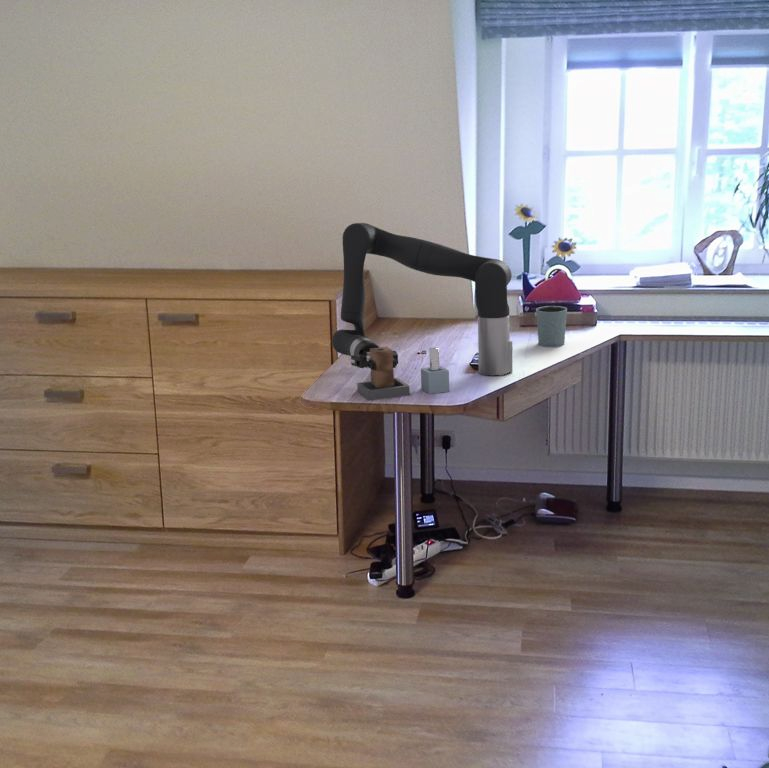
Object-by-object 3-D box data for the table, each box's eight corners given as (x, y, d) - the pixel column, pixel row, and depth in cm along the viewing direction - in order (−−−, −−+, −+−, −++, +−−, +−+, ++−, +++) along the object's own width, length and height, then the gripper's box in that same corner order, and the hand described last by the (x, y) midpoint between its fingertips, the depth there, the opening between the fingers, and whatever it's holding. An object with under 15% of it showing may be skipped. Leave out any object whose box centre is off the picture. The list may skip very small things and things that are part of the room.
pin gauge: (437, 388, 260) (436, 347, 257) (441, 390, 258) (440, 348, 255) (429, 389, 259) (427, 348, 256) (432, 391, 257) (431, 350, 254)
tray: (397, 386, 264) (397, 377, 264) (409, 394, 255) (409, 385, 255) (357, 391, 261) (357, 382, 260) (368, 400, 252) (368, 391, 251)
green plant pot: (566, 340, 312) (567, 305, 308) (566, 347, 302) (567, 311, 299) (536, 340, 313) (536, 306, 310) (535, 347, 304) (535, 311, 301)
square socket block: (441, 386, 262) (440, 365, 261) (449, 391, 257) (448, 370, 255) (421, 388, 260) (420, 368, 259) (429, 394, 255) (428, 373, 253)
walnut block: (388, 381, 260) (386, 346, 258) (393, 385, 256) (392, 350, 253) (371, 383, 259) (369, 348, 256) (376, 387, 254) (375, 352, 252)
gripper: (341, 342, 266) (359, 355, 250) (388, 337, 270) (409, 349, 254) (342, 367, 268) (360, 381, 252) (389, 362, 272) (409, 375, 256)
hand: (384, 365), depth 253 cm, fingers closed on walnut block, 5 cm apart
